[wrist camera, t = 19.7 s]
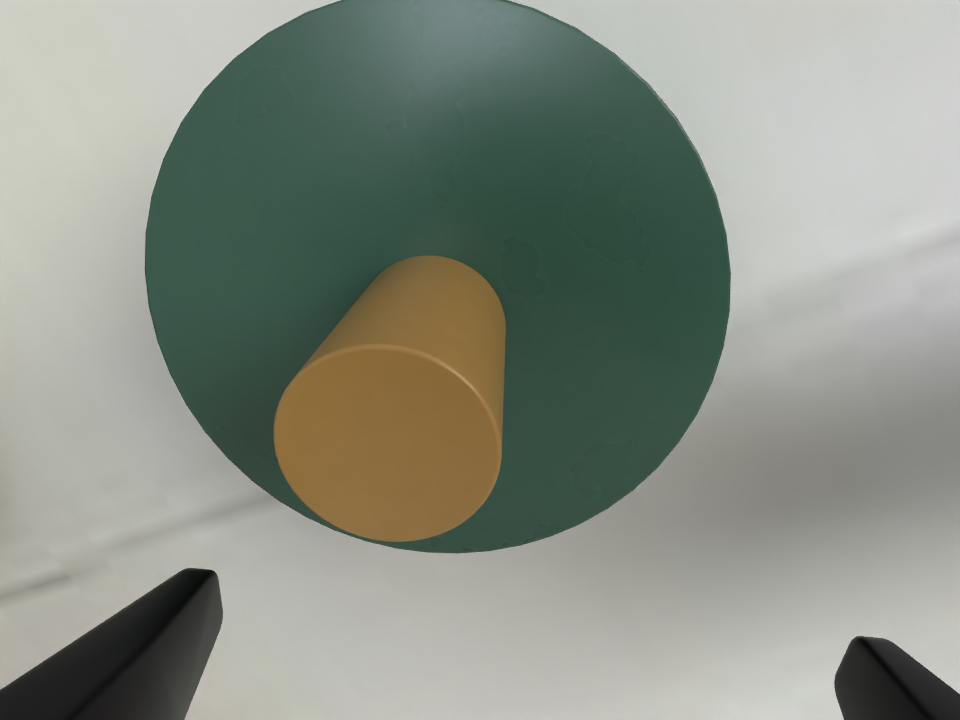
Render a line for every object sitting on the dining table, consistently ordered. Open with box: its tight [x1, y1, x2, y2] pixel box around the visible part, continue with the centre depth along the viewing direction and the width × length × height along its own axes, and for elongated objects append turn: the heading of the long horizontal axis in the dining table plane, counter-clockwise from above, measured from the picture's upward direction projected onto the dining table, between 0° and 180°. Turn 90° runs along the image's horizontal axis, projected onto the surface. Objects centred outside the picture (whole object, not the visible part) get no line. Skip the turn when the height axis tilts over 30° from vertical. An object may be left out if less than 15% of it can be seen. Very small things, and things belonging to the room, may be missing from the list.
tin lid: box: [145, 0, 731, 553], centre depth 11 cm, size 13×13×6 cm
